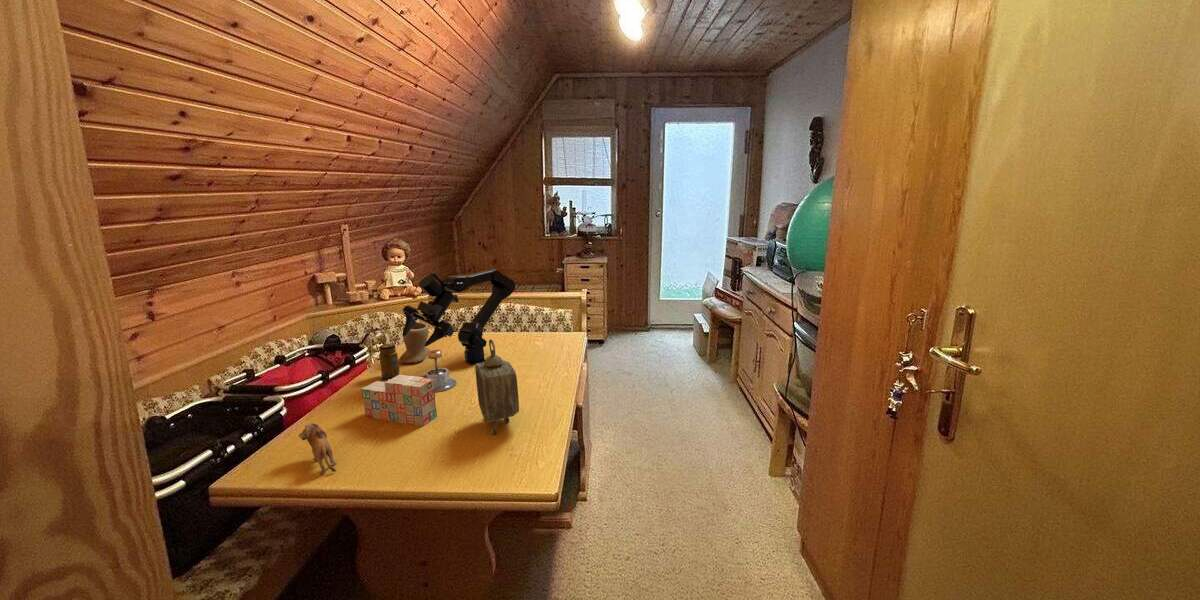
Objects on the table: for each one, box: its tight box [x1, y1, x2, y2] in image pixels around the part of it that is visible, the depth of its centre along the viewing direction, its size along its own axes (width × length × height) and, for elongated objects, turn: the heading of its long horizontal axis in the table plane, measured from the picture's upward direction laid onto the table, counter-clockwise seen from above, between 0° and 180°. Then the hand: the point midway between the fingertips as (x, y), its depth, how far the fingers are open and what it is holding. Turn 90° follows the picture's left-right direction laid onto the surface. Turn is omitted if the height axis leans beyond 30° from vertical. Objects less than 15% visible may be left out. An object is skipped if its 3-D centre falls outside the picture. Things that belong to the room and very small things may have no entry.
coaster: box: [434, 377, 457, 394], centre depth 164 cm, size 12×12×1 cm
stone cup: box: [398, 321, 431, 364], centre depth 191 cm, size 15×12×15 cm
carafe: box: [419, 367, 451, 389], centre depth 163 cm, size 10×8×5 cm
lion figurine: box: [298, 422, 337, 475], centre depth 117 cm, size 15×5×9 cm, turn 50°
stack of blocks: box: [360, 374, 438, 427], centre depth 141 cm, size 21×6×12 cm, turn 71°
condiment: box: [377, 343, 401, 382], centre depth 172 cm, size 7×8×12 cm
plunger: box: [427, 349, 444, 375], centre depth 162 cm, size 5×5×8 cm
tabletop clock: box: [474, 338, 520, 435], centre depth 133 cm, size 14×9×25 cm, turn 23°
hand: (414, 340), depth 164 cm, fingers open, 9 cm apart
